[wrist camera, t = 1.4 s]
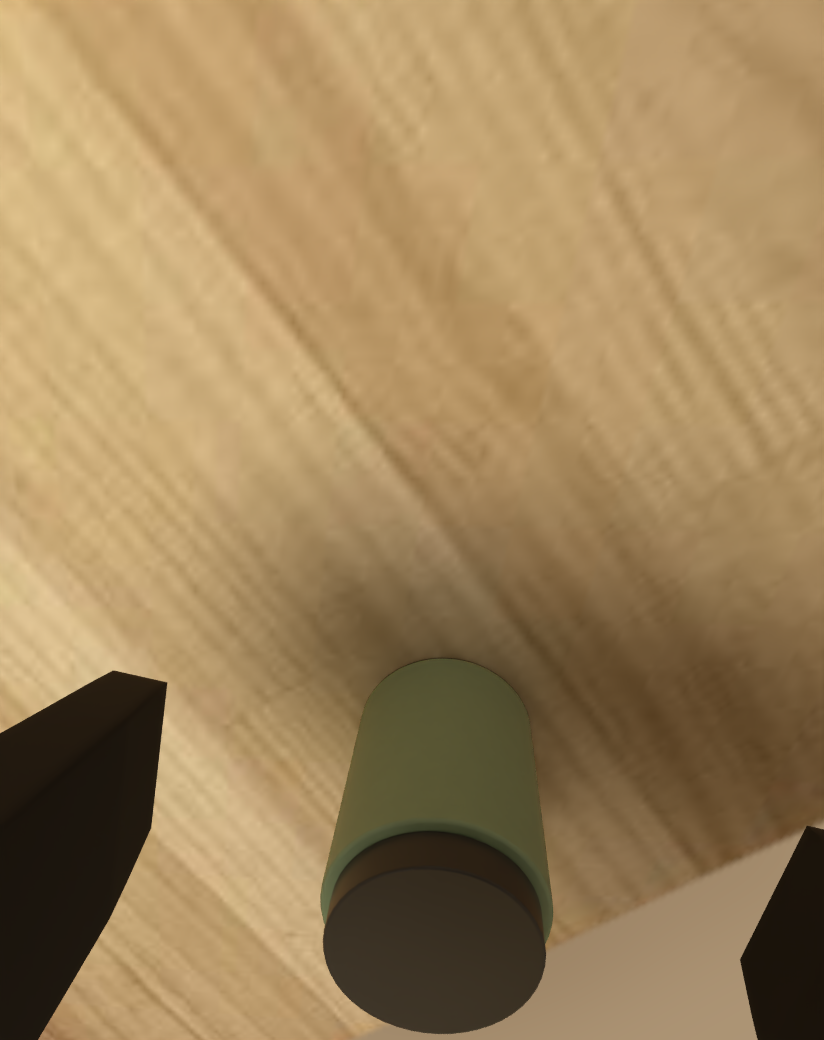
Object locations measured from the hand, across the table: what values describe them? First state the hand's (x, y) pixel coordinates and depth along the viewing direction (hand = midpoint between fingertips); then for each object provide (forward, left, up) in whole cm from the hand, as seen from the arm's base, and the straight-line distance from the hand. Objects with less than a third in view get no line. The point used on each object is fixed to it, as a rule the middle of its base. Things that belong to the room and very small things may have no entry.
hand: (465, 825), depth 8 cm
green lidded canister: (-1, +4, -8) cm, 9 cm away
